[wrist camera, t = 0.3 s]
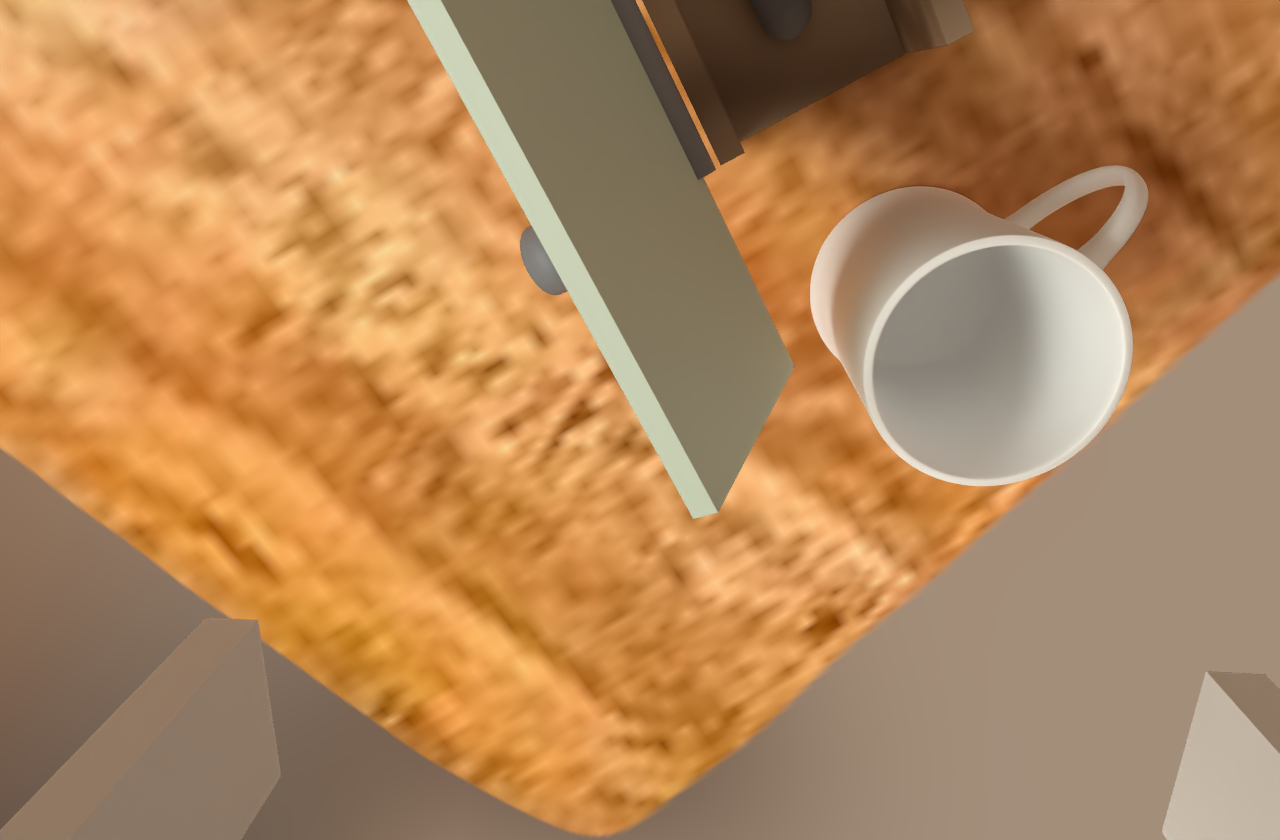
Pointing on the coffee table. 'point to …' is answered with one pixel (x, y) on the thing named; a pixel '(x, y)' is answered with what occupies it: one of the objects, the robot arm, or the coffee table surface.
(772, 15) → the dark grey rod
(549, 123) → the lid
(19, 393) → the coffee table surface
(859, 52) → the cable box
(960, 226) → the mug
